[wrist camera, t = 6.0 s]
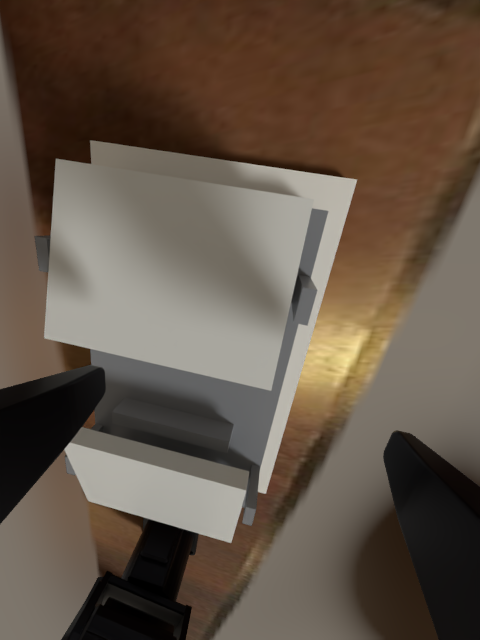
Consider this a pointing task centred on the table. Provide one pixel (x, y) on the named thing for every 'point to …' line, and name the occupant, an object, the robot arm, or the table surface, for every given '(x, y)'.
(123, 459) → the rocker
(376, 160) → the table surface
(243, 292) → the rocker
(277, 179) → the box
